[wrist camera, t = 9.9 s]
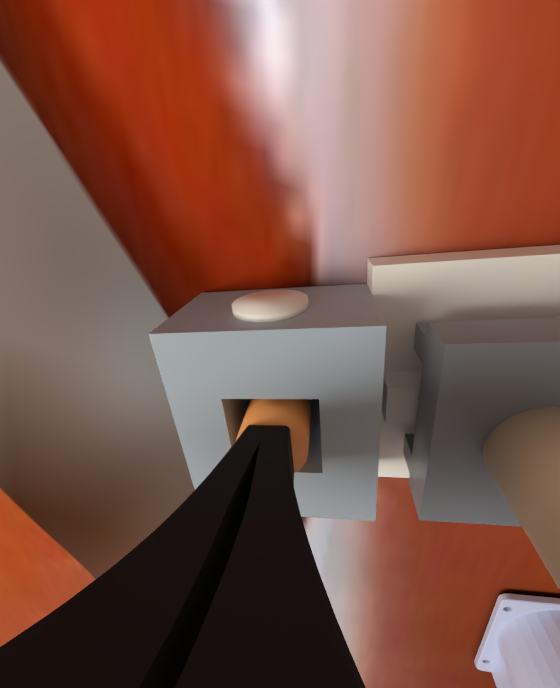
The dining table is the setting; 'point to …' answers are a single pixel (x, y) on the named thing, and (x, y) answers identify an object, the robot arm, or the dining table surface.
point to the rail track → (448, 316)
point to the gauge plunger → (283, 422)
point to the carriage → (490, 427)
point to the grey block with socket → (283, 383)
